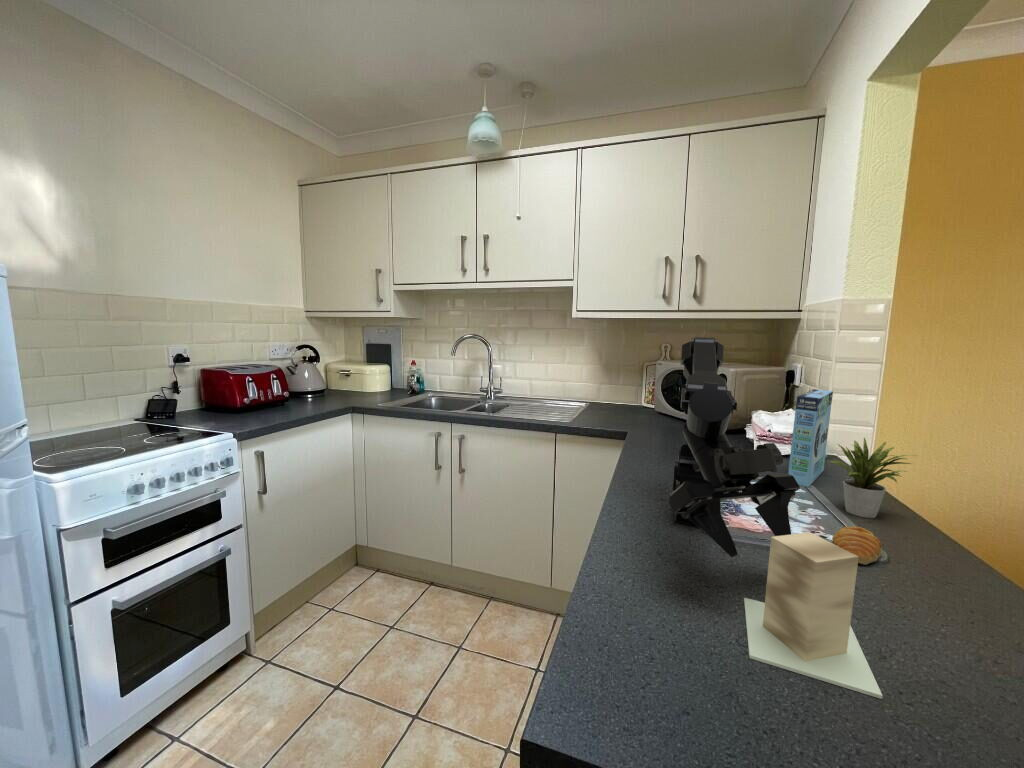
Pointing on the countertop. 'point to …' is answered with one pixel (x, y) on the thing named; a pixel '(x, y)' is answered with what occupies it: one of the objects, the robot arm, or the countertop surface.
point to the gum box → (810, 436)
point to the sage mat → (833, 669)
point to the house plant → (866, 479)
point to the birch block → (810, 595)
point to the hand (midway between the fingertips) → (763, 552)
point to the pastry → (859, 543)
